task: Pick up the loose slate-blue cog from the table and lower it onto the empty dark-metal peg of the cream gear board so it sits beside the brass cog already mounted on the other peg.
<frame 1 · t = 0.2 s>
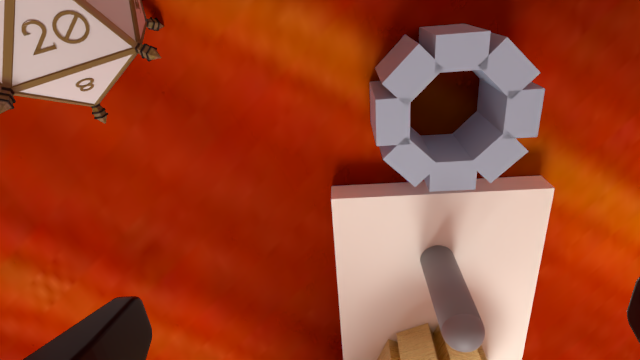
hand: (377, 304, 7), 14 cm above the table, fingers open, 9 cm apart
game die: (101, 0, 19), on the table
slate gear: (438, 97, 20), on the table
gear board: (428, 297, 25), on the table
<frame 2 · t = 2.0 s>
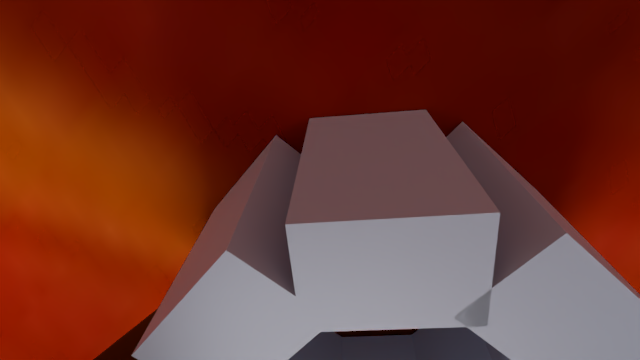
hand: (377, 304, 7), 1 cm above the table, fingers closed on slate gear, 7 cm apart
slate gear: (373, 268, 8), on the table, touching gripper
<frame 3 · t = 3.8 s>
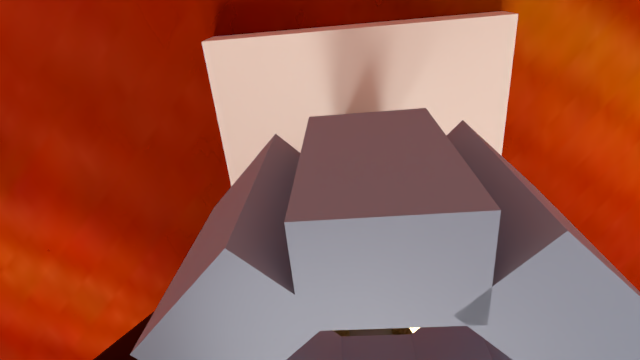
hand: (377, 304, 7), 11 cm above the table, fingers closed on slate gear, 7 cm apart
slate gear: (373, 267, 8), point 10 cm above the table, touching gripper
brass gear: (369, 322, 18), point 3 cm above the table, hinge at 0.0°
gear board: (362, 206, 19), on the table
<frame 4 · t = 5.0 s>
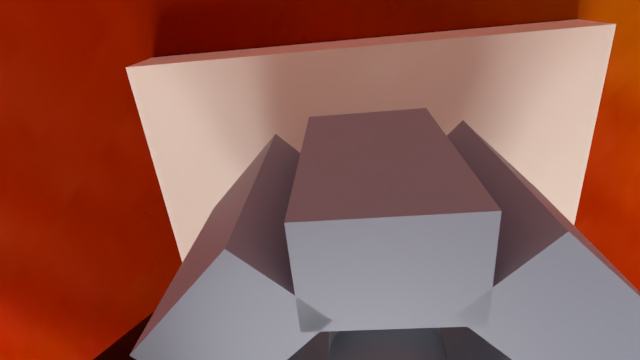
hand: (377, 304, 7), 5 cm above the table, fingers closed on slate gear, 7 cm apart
slate gear: (373, 267, 8), point 4 cm above the table, touching gripper
gear board: (368, 283, 14), on the table
when the fingers open (4 cm above the table, at t = 5.8 s): slate gear drops 1 cm, resting on gear board.
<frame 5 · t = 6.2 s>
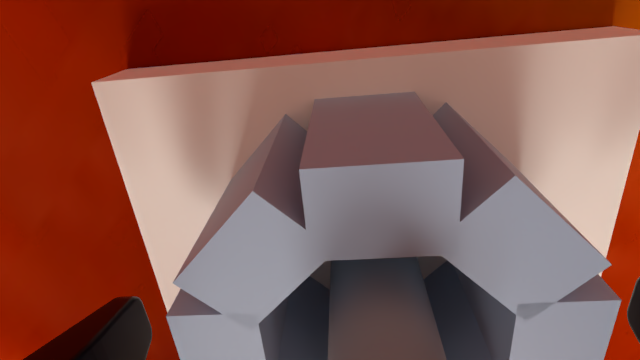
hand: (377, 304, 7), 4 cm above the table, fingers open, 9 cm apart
slate gear: (369, 234, 9), point 1 cm above the table, touching gear board
gear board: (371, 315, 12), on the table
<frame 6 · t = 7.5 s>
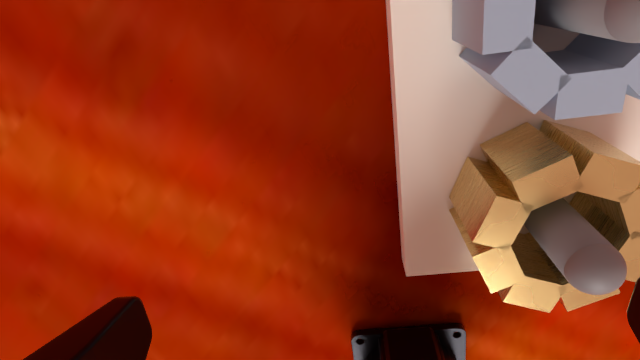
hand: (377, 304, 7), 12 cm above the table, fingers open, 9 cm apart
brass gear: (547, 215, 16), point 3 cm above the table, hinge at 0.0°
gear board: (521, 97, 17), on the table
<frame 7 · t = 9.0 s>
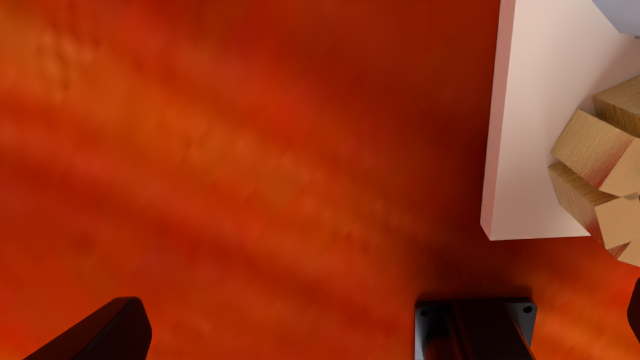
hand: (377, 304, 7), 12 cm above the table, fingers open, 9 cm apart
gear board: (632, 50, 17), on the table
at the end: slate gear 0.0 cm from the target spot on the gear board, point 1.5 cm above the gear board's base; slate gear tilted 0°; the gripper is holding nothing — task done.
